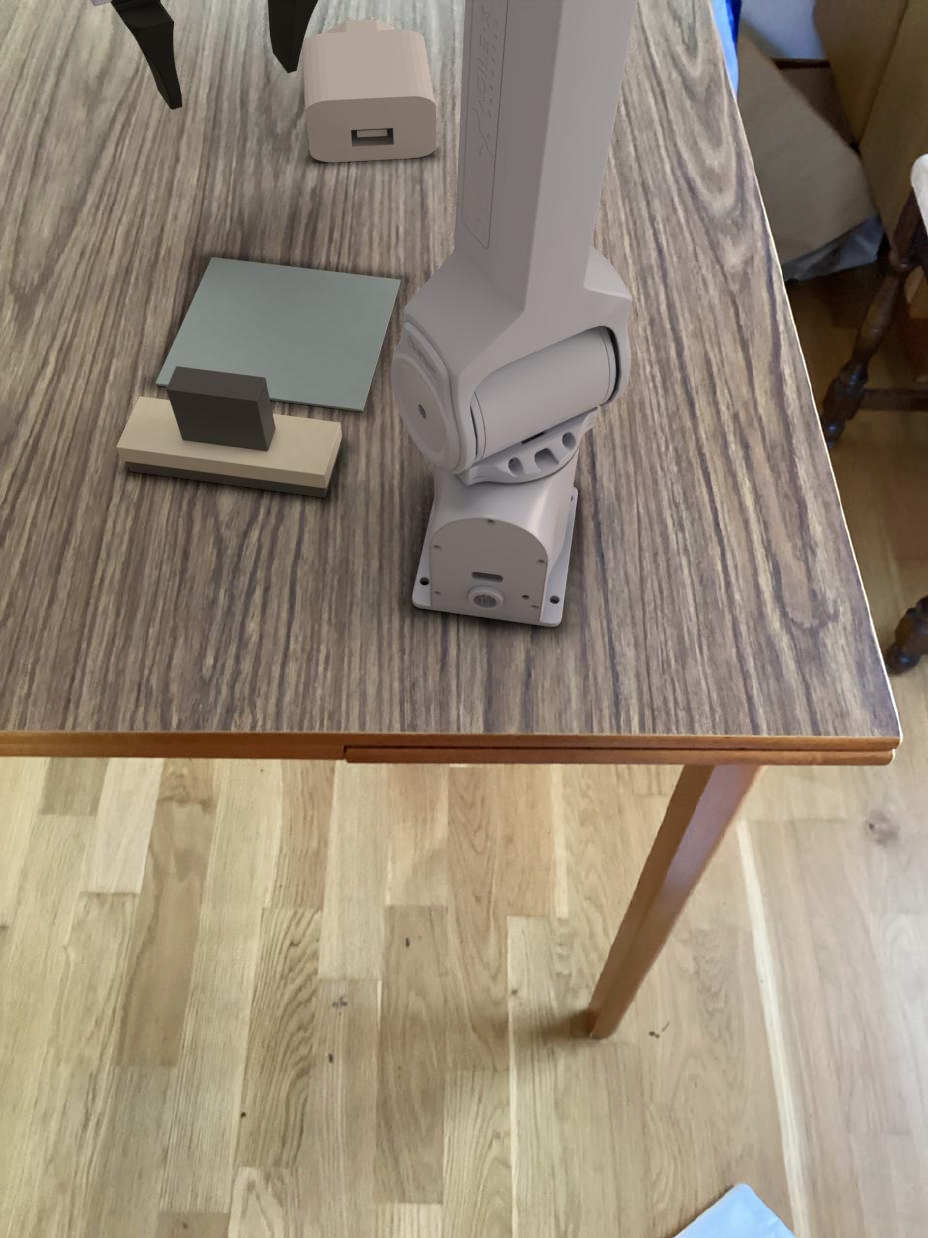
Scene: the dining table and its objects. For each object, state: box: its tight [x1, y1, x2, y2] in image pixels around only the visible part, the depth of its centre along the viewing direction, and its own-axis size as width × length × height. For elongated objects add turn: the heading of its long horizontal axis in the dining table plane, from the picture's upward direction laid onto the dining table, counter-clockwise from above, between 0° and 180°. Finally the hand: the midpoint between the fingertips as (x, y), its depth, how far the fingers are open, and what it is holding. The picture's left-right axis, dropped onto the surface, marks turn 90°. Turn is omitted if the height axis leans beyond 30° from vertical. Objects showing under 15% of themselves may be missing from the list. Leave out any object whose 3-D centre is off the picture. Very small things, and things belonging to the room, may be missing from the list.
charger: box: [301, 15, 437, 163], centre depth 77 cm, size 5×9×15 cm
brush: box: [115, 366, 343, 499], centre depth 57 cm, size 4×12×6 cm, turn 81°
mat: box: [155, 256, 401, 413], centre depth 66 cm, size 12×13×1 cm
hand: (228, 79), depth 62 cm, fingers open, 7 cm apart
